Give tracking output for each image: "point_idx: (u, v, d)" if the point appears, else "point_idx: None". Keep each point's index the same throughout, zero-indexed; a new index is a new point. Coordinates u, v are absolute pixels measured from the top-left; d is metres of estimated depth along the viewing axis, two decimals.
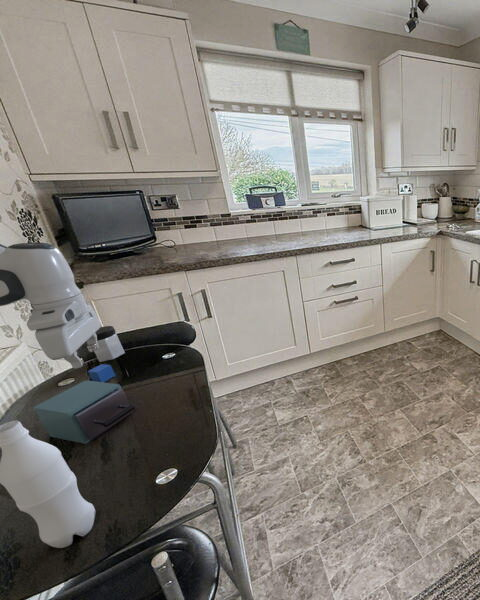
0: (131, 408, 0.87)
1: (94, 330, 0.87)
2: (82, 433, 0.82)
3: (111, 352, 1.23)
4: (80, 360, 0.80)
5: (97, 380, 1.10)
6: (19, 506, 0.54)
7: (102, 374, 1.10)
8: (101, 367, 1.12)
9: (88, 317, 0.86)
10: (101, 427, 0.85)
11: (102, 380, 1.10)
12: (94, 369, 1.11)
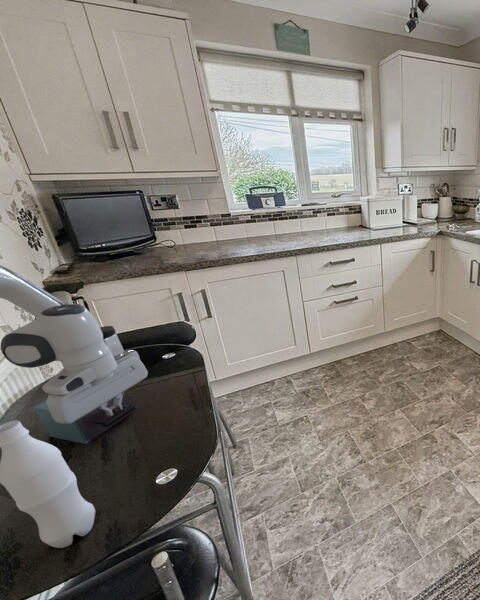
0: (131, 408, 0.87)
1: (130, 384, 0.87)
2: (82, 433, 0.82)
3: None
4: (111, 410, 0.84)
5: None
6: (19, 506, 0.54)
7: None
8: None
9: (126, 372, 0.86)
10: (101, 427, 0.85)
11: None
12: None
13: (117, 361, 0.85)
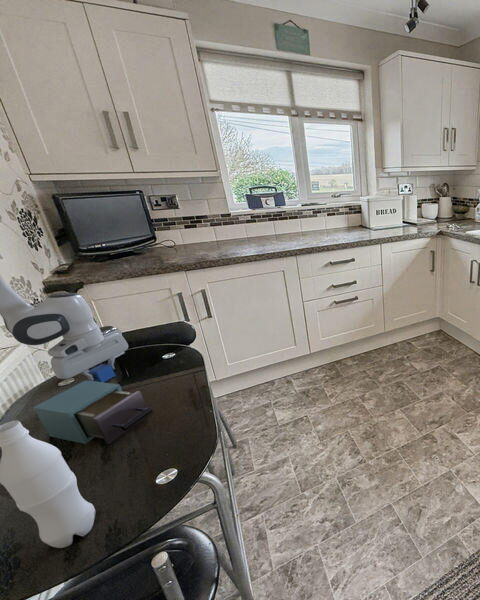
0: (149, 411, 0.85)
1: (114, 354, 1.14)
2: (82, 433, 0.82)
3: None
4: (92, 376, 1.08)
5: (97, 380, 1.10)
6: (19, 506, 0.54)
7: (102, 374, 1.10)
8: (101, 367, 1.12)
9: (111, 344, 1.13)
10: (119, 430, 0.83)
11: (102, 380, 1.10)
12: (94, 369, 1.11)
13: (104, 335, 1.12)
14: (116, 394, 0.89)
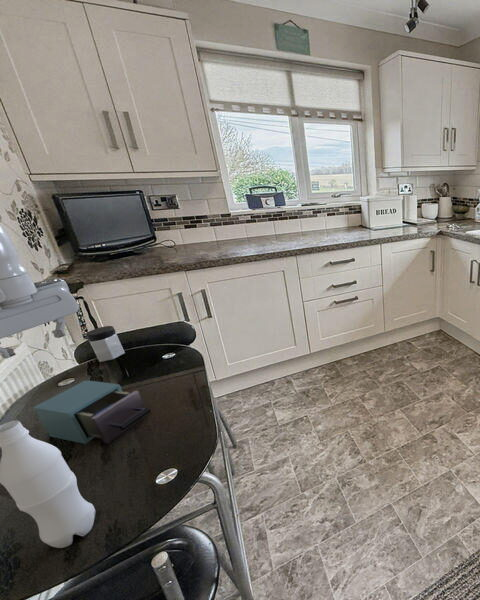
0: (147, 410, 0.86)
1: (55, 316, 0.78)
2: (82, 433, 0.82)
3: (111, 352, 1.23)
4: (6, 351, 0.71)
5: None
6: (19, 506, 0.54)
7: None
8: None
9: (50, 301, 0.77)
10: (117, 430, 0.83)
11: None
12: None
13: (39, 288, 0.76)
14: (114, 394, 0.89)
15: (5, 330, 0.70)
